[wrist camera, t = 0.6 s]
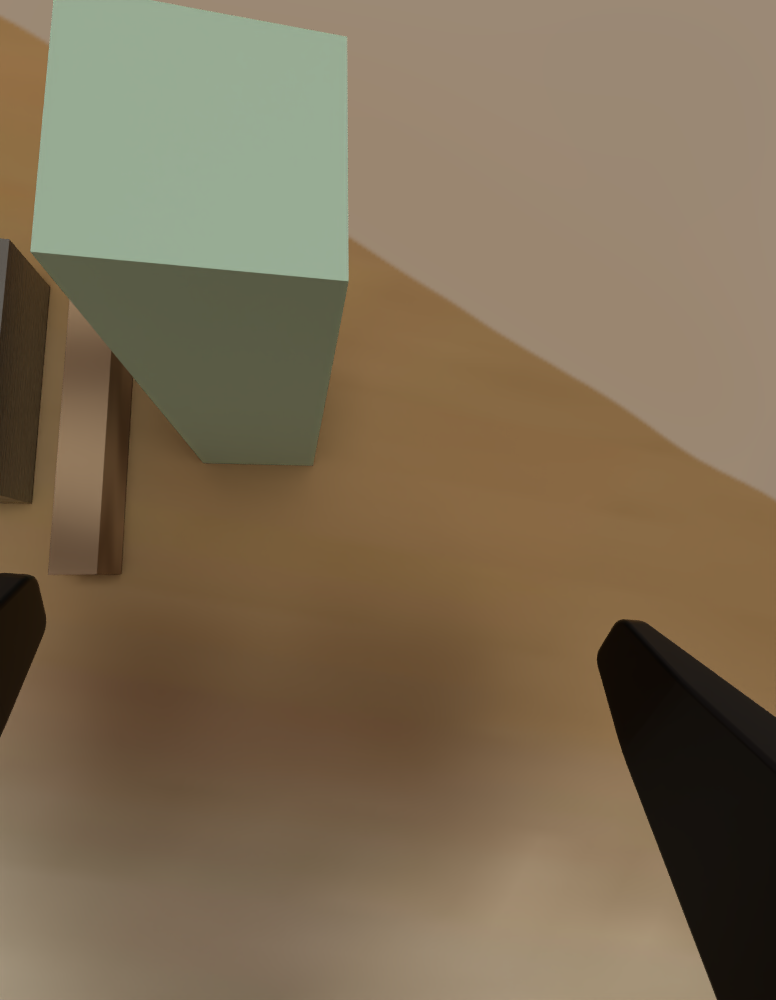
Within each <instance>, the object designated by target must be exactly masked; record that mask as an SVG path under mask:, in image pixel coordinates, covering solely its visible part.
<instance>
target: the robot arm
mask: <svg viewBox="0 0 776 1000" xmlns="http://www.w3.org/2000/svg"><path fill="white" fill-rule="evenodd" d="M45 627H46V614H45V610H44V605H43V601H42V597H41V593H40V588H39V584H38V582H37V580H36V578H35V577H34V576H31V575H27V574H13V573H0V737H1V734H2V732H3V730H4V728H5V725H6V723H7V721H8V719H9V716H10V714H11V711H12V709H13V707H14V704H15V702H16V699H17V697H18V695H19V692H20V690H21V687H22V685H23V682H24V680H25V678H26V675H27V673H28V670H29V668H30V666H31V663H32V661H33V658H34V656H35V654H36V651H37V649H38V646H39V644H40V642H41V639H42V637H43V634H44V631H45ZM597 664H598V669H599V672H600V676H601V679H602V683H603V686H604V690H605V694H606V697H607V701H608V704H609V708H610V711H611V715H612V718H613V722H614V726H615V729H616V733H617V736H618V740H619V743H620V746H621V749H622V753H623V755H624V758H625V761H626V764H627V766H628V769H629V772H630V774H631V777H632V780H633V782H634V785H635V787H636V790H637V793H638V795H639V798H640V800H641V803H642V806H643V808H644V811H645V813H646V816H647V819H648V821H649V824H650V826H651V829H652V832H653V834H654V837H655V840H656V842H657V845H658V847H659V850H660V853H661V855H662V858H663V860H664V863H665V866H666V868H667V871H668V873H669V876H670V879H671V881H672V884H673V886H674V889H675V892H676V894H677V897H678V899H679V902H680V905H681V907H682V910H683V913H684V915H685V918H686V920H687V923H688V926H689V928H690V931H691V933H692V936H693V939H694V941H695V944H696V946H697V949H698V952H699V954H700V957H701V959H702V962H703V965H704V967H705V970H706V972H707V975H708V978H709V980H710V983H711V985H712V988H713V991H714V993H715V996H716V999H717V1000H776V717H775V716H773V715H772V714H770V713H769V712H768V711H766V710H765V709H764V708H762V707H761V706H759V705H758V704H757V703H755V702H754V701H753V700H751V699H750V698H749V697H747V696H746V695H744V694H743V693H742V692H740V691H739V690H738V689H736V688H735V687H733V686H732V685H731V684H729V683H728V682H727V681H725V680H724V679H722V678H721V677H720V676H718V675H717V674H716V673H714V672H713V671H712V670H710V669H709V668H707V667H706V666H705V665H703V664H702V663H701V662H699V661H698V660H696V659H695V658H694V657H692V656H691V655H690V654H688V653H687V652H685V651H684V650H683V649H681V648H680V647H679V646H677V645H676V644H675V643H673V642H672V641H670V640H669V639H668V638H666V637H665V636H664V635H662V634H661V633H659V632H658V631H657V630H655V629H654V628H653V627H651V626H650V625H648V624H647V623H645V622H643V621H638V620H625V619H623V620H619V621H618V622H616V623H615V624H614V626H613V627H612V629H611V631H610V632H609V634H608V636H607V637H606V639H605V641H604V642H603V644H602V645H601V647H600V649H599V651H598V654H597Z"/></svg>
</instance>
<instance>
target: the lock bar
mask: <svg viewBox="0 0 776 1000" xmlns="http://www.w3.org/2000/svg"><path fill="white" fill-rule="evenodd" d="M347 125H348V120H347V37H346V36H340V35H335V34H329V33H324V32H319V31H313V30H308V29H302V28H297V27H292V26H286V25H281V24H276V23H270V22H265V21H259V20H254V19H248V18H243V17H238V16H232V15H227V14H222V13H216V12H211V11H206V10H200V9H195V8H189V7H184V6H179V5H173V4H168V3H163V2H157V1H152V0H53V12H52V22H51V33H50V44H49V55H48V65H47V76H46V87H45V98H44V109H43V120H42V131H41V142H40V153H39V164H38V175H37V185H36V196H35V207H34V218H33V229H32V240H31V251H30V252H31V253H32V254H33V255H34V257H35V258H36V259H37V260H38V262H39V263H40V264H41V265H42V266H43V268H44V269H45V270H46V271H47V273H48V274H49V275H50V276H51V277H52V279H53V280H54V281H55V282H56V284H57V285H58V286H59V287H60V288H61V290H62V291H63V292H64V293H65V295H66V296H67V297H68V298H69V299H70V301H71V302H72V303H73V304H74V306H75V307H76V308H77V309H78V310H79V312H80V313H81V314H82V315H83V317H84V318H85V319H86V320H87V321H88V323H89V324H90V325H91V326H92V328H93V329H94V330H95V331H96V332H97V334H98V335H99V336H100V337H101V339H102V340H103V341H104V342H105V343H106V345H107V346H108V347H109V348H110V350H111V351H112V352H113V353H114V354H115V356H116V357H117V358H118V359H119V361H120V362H121V363H122V364H123V365H124V367H125V368H126V369H127V370H128V372H129V373H130V374H131V375H132V376H133V378H134V379H135V380H136V381H137V383H138V384H139V385H140V386H141V387H142V389H143V390H144V391H145V392H146V394H147V395H148V396H149V397H150V398H151V400H152V401H153V402H154V403H155V405H156V406H157V407H158V408H159V409H160V411H161V412H162V413H163V414H164V416H165V417H166V418H167V419H168V420H169V422H170V423H171V424H172V425H173V427H174V428H175V429H176V430H177V431H178V433H179V434H180V435H181V436H182V438H183V439H184V440H185V441H186V443H187V444H188V445H189V446H190V447H191V449H192V450H193V451H194V452H195V454H196V455H197V456H198V457H199V458H200V460H201V461H202V462H203V463H219V464H263V465H307V466H313V462H314V457H315V452H316V447H317V442H318V437H319V431H320V426H321V421H322V416H323V411H324V405H325V400H326V395H327V390H328V385H329V380H330V374H331V369H332V364H333V359H334V354H335V348H336V343H337V338H338V333H339V328H340V323H341V317H342V312H343V307H344V302H345V297H346V291H347V286H348V134H347V133H348V132H347V131H348V129H347V128H348V126H347Z"/></svg>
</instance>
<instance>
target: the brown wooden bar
mask: <svg viewBox="0 0 776 1000" xmlns="http://www.w3.org/2000/svg"><path fill="white" fill-rule="evenodd" d="M132 379H133V376H132V375H131V374H130V373H129V372H128V370H127V369H126V368H125V367H124V365H123V364H122V363H121V362H120V361H119V359H118V358H117V357H116V356H115V354H114V353H113V352H112V351H111V350H110V348H109V347H108V346H107V345H106V343H105V342H104V341H103V340H102V339H101V337H100V336H99V335H98V334H97V332H96V331H95V330H94V329H93V328H92V326H91V325H90V324H89V323H88V321H87V320H86V319H85V318H84V317H83V315H82V314H81V313H80V312H79V310H78V309H77V308H76V307H75V306H74V304H73V303H72V302H71V301H69V314H68V326H67V339H66V352H65V365H64V377H63V390H62V403H61V416H60V428H59V441H58V454H57V466H56V479H55V492H54V505H53V517H52V530H51V543H50V556H49V568H48V575H88V574H121V569H122V551H123V534H124V517H125V500H126V482H127V465H128V448H129V431H130V413H131V396H132Z"/></svg>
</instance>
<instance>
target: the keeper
mask: <svg viewBox="0 0 776 1000" xmlns="http://www.w3.org/2000/svg"><path fill="white" fill-rule="evenodd" d="M49 290H50V287H49V285H48V284H47V283H46V282H45V281H44V279H43V278H42V277H41V276H40V275H39V274H38V272H37V271H36V270H35V269H34V268H33V267H32V265H31V264H30V263H29V262H28V261H27V260H26V258H25V257H24V256H23V255H22V254H21V252H20V251H19V250H18V249H17V248H16V247H15V245H14V244H13V243H12V242H11V241H10V240H9V239H0V503H27V504H31V502H32V491H33V479H34V467H35V455H36V443H37V432H38V420H39V408H40V396H41V385H42V373H43V361H44V349H45V337H46V326H47V314H48V302H49Z"/></svg>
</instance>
